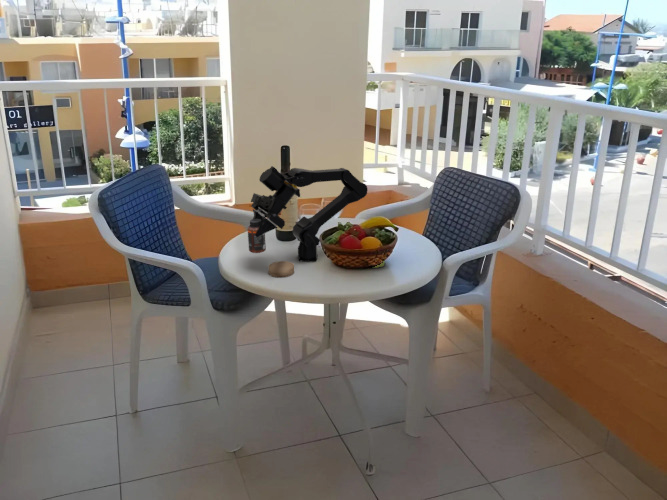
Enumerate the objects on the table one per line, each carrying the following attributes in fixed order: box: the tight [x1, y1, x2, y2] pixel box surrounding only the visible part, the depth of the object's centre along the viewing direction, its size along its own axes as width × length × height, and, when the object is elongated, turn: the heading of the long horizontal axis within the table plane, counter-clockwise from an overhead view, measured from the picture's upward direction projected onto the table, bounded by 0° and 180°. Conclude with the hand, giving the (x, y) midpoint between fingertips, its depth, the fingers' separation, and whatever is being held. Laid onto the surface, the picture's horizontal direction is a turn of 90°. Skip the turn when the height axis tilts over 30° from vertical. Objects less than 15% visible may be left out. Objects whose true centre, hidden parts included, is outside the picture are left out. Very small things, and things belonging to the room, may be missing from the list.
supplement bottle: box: [247, 218, 267, 254], centre depth 203 cm, size 6×6×11 cm
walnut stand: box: [268, 260, 295, 278], centre depth 203 cm, size 9×9×2 cm
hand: (252, 233), depth 202 cm, fingers closed on supplement bottle, 6 cm apart
